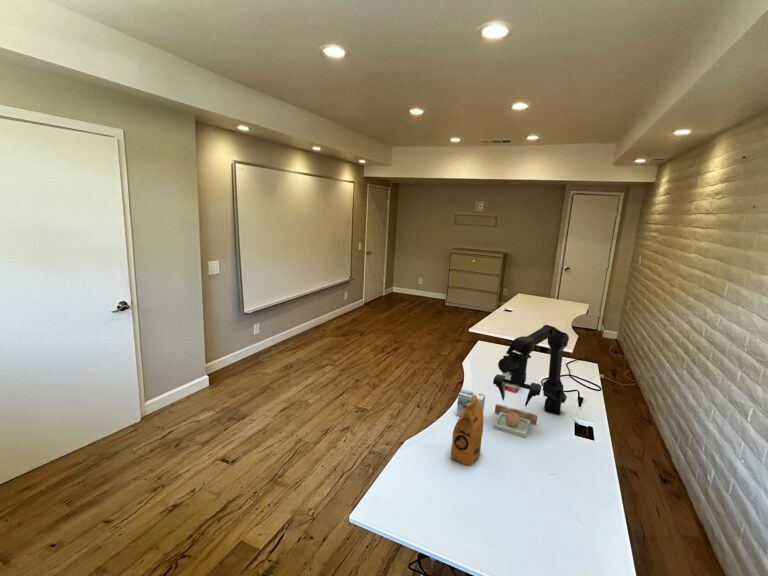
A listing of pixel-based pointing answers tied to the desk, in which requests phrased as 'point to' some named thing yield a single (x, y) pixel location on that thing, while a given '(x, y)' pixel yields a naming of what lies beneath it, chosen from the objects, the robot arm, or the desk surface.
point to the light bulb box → (468, 400)
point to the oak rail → (521, 413)
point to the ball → (513, 418)
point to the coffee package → (468, 434)
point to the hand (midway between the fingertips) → (514, 403)
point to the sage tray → (516, 430)
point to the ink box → (510, 387)
